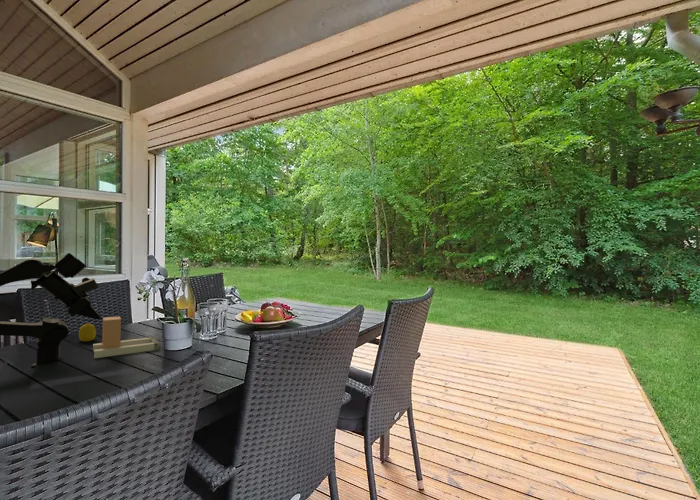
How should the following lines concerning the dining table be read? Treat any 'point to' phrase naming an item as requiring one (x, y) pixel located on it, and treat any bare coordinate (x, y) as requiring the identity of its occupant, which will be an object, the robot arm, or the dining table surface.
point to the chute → (126, 347)
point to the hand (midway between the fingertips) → (99, 318)
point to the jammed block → (111, 332)
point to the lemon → (87, 332)
